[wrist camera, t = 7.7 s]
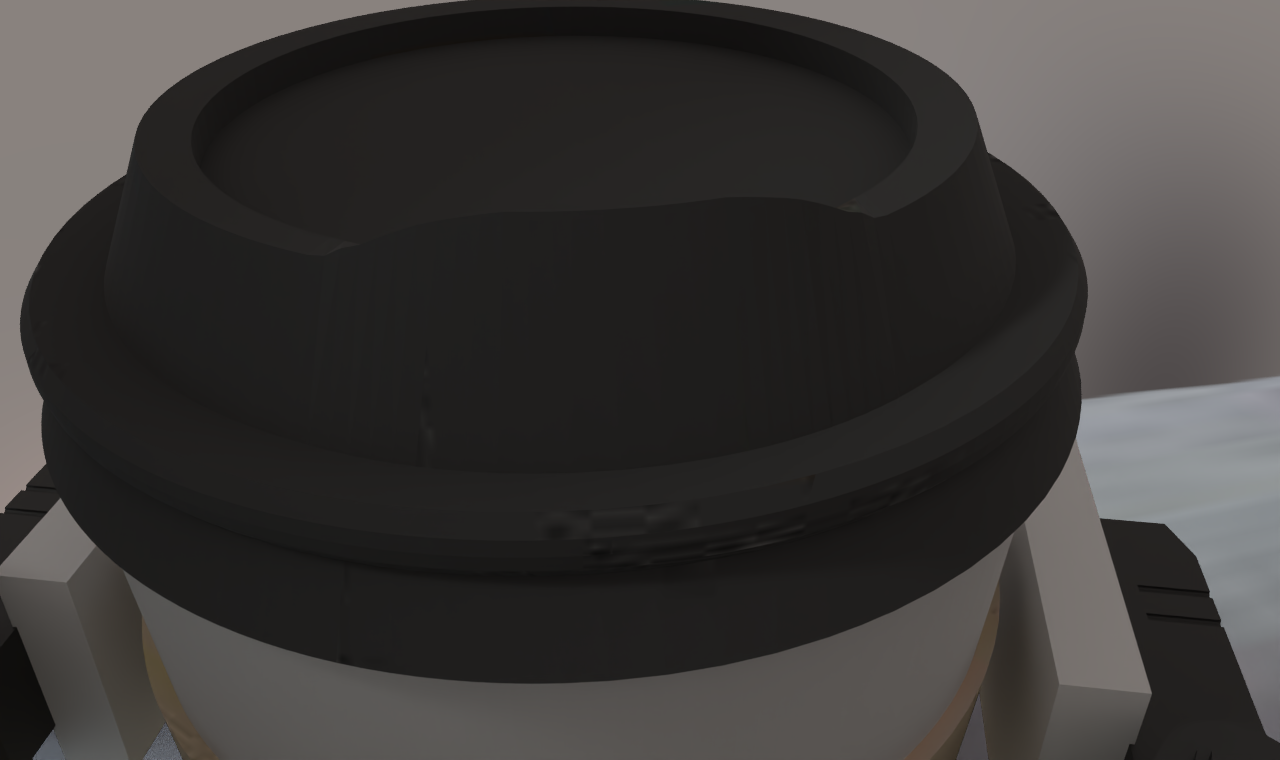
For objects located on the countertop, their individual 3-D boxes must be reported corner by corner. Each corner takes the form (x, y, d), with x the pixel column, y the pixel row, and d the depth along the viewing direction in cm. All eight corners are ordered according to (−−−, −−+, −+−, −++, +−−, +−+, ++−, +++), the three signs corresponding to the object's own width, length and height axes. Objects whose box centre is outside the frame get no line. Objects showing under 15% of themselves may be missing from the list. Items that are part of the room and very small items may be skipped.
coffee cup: (313, 823, 21) (104, -58, 13) (806, 758, 22) (901, -84, 14) (251, 1501, 13) (-361, 395, 5) (1006, 1346, 14) (1475, 252, 6)
